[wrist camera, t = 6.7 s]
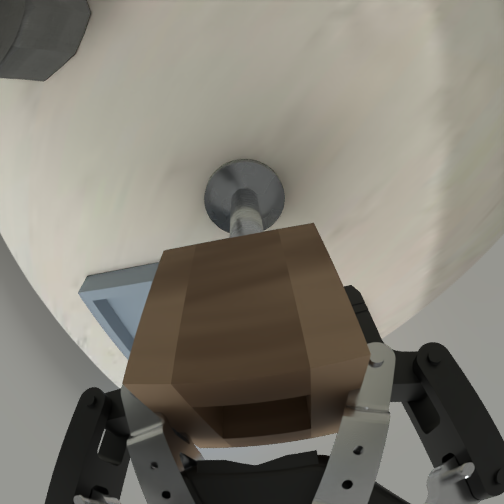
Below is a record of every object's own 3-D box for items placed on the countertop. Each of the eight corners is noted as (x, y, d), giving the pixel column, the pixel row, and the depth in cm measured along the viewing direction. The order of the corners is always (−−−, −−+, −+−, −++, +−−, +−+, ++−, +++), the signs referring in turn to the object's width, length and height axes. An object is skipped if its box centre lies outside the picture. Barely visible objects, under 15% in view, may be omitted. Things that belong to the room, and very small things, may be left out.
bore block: (163, 250, 11) (122, 383, 6) (313, 222, 10) (370, 354, 5) (205, 341, 14) (199, 447, 9) (318, 324, 14) (345, 430, 9)
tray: (87, 276, 25) (77, 292, 22) (203, 254, 24) (200, 272, 22) (139, 352, 32) (135, 368, 30) (236, 343, 31) (236, 361, 29)
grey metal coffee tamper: (196, 168, 20) (178, 209, 14) (276, 152, 19) (295, 186, 13) (215, 236, 23) (209, 294, 17) (287, 223, 22) (305, 277, 17)
